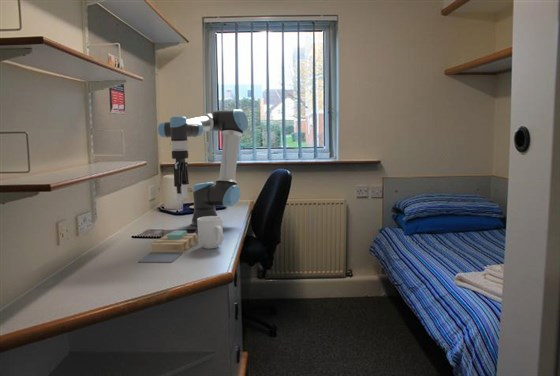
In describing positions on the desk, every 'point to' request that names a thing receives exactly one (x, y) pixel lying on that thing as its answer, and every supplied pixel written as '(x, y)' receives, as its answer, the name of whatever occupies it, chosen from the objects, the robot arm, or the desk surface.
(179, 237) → the teal rectangular block
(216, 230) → the mug
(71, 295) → the desk surface
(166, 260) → the mat
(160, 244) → the board
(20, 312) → the desk surface
